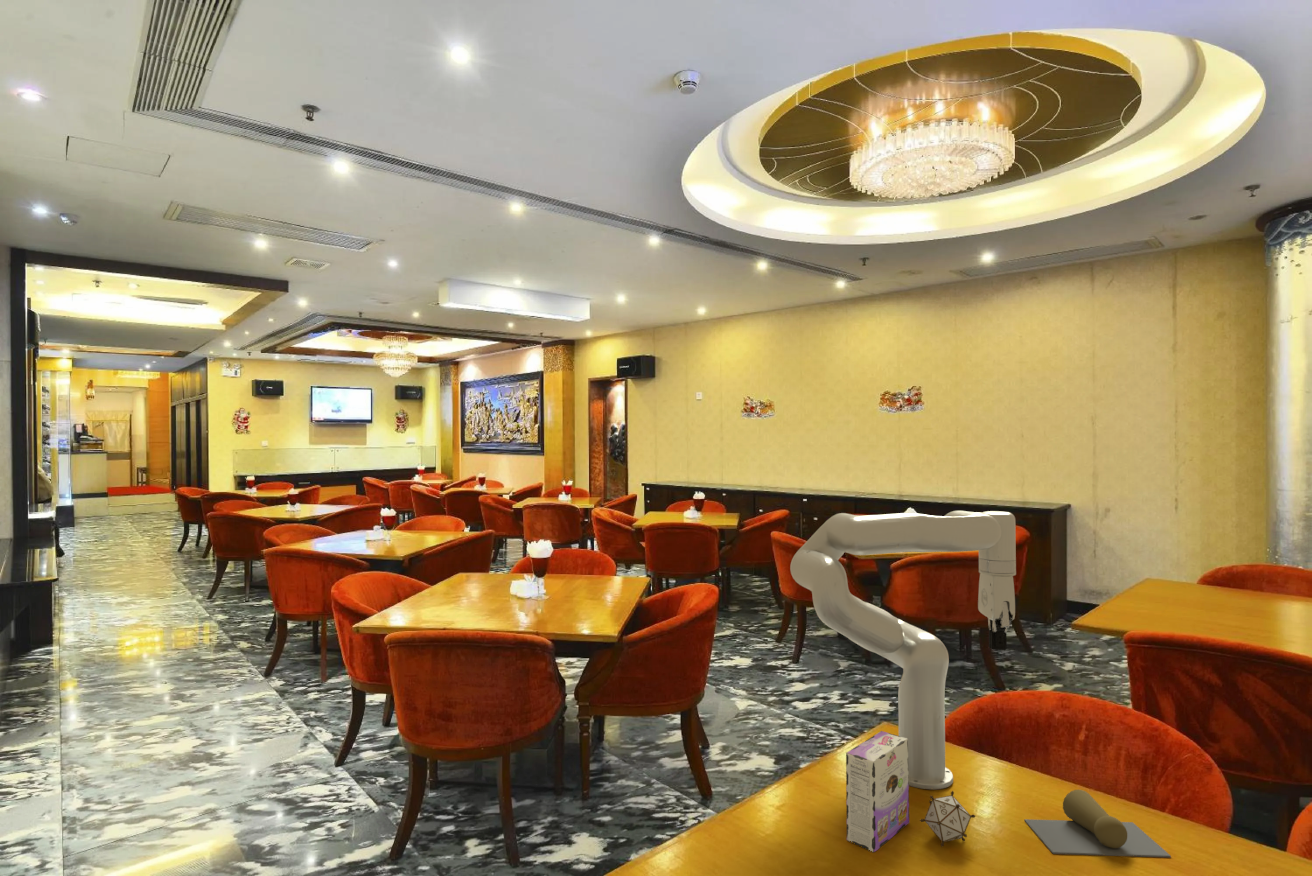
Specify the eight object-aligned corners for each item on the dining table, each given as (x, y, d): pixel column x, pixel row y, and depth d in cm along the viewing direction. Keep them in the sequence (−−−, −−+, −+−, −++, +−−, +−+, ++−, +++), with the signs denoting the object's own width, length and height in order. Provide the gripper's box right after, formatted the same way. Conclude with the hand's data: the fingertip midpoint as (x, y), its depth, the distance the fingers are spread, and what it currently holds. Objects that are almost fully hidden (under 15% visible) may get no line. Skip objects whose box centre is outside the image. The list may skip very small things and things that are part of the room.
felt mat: (1052, 853, 125) (1052, 852, 125) (1024, 821, 136) (1024, 819, 136) (1170, 857, 124) (1170, 855, 124) (1132, 824, 135) (1132, 822, 135)
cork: (1056, 805, 136) (1093, 838, 125) (1078, 783, 136) (1117, 813, 125) (1078, 827, 136) (1117, 861, 125) (1099, 804, 136) (1140, 837, 125)
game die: (958, 865, 128) (983, 838, 122) (912, 843, 130) (934, 816, 124) (959, 820, 135) (982, 793, 130) (915, 800, 137) (936, 772, 131)
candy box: (881, 813, 139) (881, 729, 139) (910, 824, 135) (909, 738, 135) (845, 840, 130) (844, 750, 130) (874, 853, 125) (873, 760, 126)
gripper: (968, 561, 166) (969, 639, 166) (991, 572, 151) (992, 658, 151) (1002, 561, 165) (1002, 640, 165) (1028, 573, 150) (1029, 659, 150)
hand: (997, 648), depth 158 cm, fingers closed
